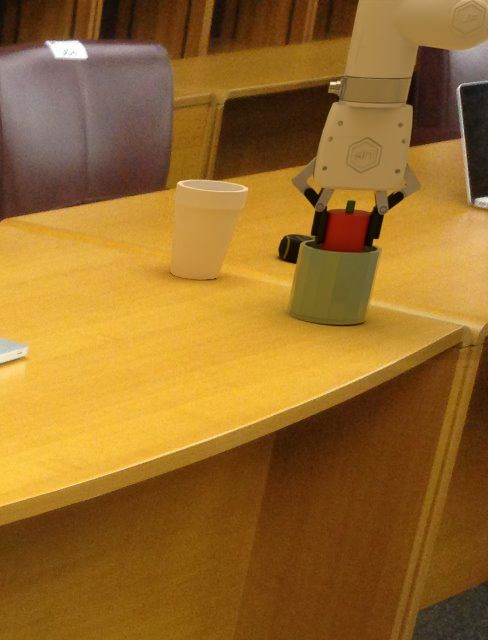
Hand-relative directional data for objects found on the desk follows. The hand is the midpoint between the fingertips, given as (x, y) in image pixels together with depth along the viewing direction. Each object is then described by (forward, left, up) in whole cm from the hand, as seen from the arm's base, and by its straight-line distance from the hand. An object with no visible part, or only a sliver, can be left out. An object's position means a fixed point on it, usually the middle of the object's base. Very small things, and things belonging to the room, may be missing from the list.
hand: (343, 242), depth 195 cm
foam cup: (+24, +5, -10) cm, 26 cm away
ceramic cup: (0, 0, -10) cm, 10 cm away
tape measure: (+32, -18, -10) cm, 38 cm away
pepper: (0, 0, -1) cm, 1 cm away
